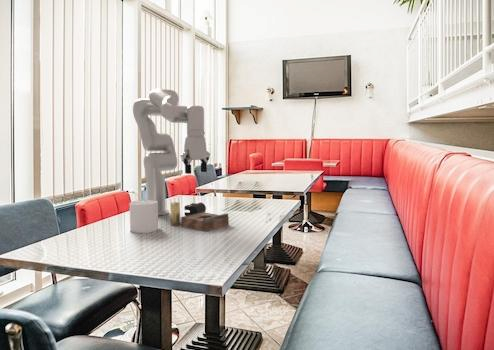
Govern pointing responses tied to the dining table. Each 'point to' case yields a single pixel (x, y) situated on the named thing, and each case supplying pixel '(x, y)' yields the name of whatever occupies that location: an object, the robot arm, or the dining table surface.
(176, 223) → the gold peg
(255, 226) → the dining table surface
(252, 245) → the dining table surface
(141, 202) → the cup
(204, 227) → the jig
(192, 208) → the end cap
